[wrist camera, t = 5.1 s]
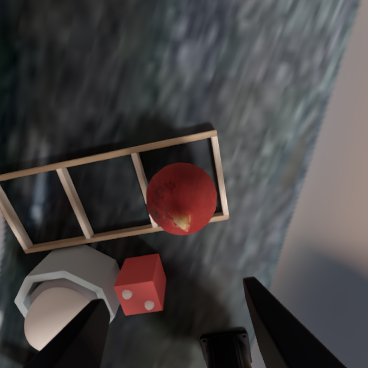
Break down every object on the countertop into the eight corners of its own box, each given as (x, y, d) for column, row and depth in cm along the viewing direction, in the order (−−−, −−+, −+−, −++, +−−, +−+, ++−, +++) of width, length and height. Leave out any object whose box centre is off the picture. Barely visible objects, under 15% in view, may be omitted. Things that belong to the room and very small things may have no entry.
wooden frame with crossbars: (227, 215, 21) (229, 218, 20) (31, 248, 23) (25, 253, 22) (215, 129, 18) (216, 130, 17) (-10, 176, 20) (-18, 179, 19)
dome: (117, 306, 24) (94, 367, 18) (61, 314, 24) (23, 375, 18) (96, 259, 21) (63, 311, 16) (35, 269, 22) (-18, 323, 16)
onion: (154, 207, 21) (135, 261, 13) (153, 153, 19) (129, 180, 11) (209, 209, 21) (221, 264, 13) (213, 155, 19) (231, 183, 11)
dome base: (171, 296, 25) (168, 334, 21) (63, 311, 26) (39, 349, 22) (152, 232, 22) (143, 261, 17) (30, 253, 23) (-5, 284, 19)
